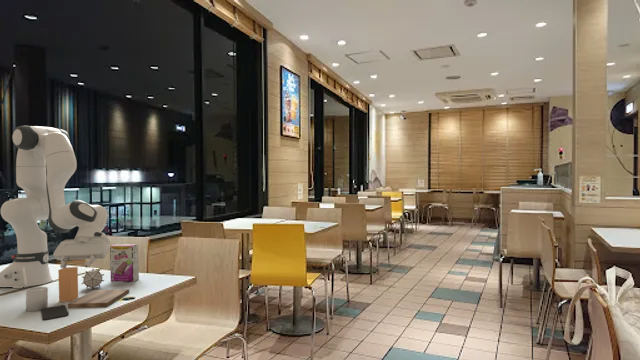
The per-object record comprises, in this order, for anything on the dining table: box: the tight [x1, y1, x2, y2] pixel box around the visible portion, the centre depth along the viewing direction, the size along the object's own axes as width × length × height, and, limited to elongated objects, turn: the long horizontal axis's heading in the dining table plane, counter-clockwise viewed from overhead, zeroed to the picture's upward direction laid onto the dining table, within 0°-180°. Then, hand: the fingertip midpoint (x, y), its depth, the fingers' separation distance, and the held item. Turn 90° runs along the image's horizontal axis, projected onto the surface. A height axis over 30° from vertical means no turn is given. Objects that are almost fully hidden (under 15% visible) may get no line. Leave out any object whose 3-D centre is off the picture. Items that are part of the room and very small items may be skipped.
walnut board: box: [67, 288, 130, 309], centre depth 156 cm, size 14×18×2 cm
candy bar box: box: [109, 243, 140, 283], centre depth 186 cm, size 11×5×16 cm, turn 84°
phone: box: [40, 304, 70, 321], centre depth 142 cm, size 7×1×15 cm
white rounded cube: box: [25, 286, 49, 313], centre depth 147 cm, size 6×6×7 cm
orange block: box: [57, 266, 79, 302], centre depth 158 cm, size 5×5×12 cm
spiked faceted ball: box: [81, 268, 105, 290], centre depth 174 cm, size 9×8×10 cm
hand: (74, 267), depth 161 cm, fingers open, 8 cm apart
